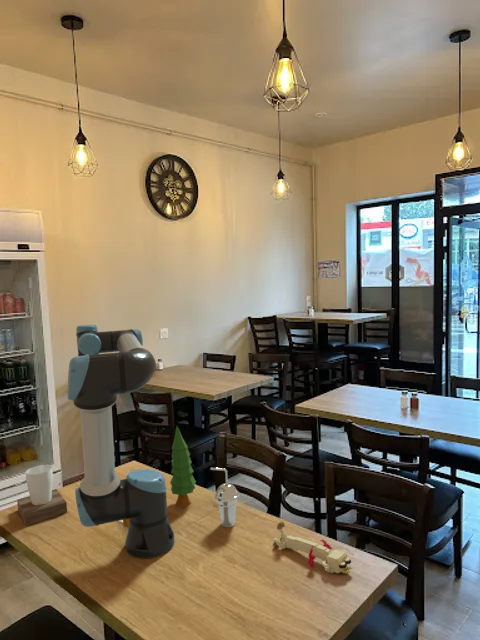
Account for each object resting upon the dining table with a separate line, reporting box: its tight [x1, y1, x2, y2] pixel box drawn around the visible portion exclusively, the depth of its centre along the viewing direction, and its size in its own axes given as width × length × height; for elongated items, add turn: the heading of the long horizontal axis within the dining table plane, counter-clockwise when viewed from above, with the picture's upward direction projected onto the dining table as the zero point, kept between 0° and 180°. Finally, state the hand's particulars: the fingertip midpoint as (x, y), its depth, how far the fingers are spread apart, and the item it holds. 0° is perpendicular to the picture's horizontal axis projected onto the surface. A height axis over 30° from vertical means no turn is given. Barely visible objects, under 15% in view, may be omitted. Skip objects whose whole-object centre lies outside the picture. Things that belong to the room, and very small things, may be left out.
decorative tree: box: [170, 425, 197, 508], centre depth 175 cm, size 10×9×30 cm
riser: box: [16, 488, 68, 526], centre depth 174 cm, size 14×14×4 cm
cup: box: [25, 464, 54, 505], centre depth 173 cm, size 9×9×12 cm
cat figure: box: [272, 520, 353, 575], centre depth 138 cm, size 10×9×25 cm
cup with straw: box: [209, 467, 241, 528], centre depth 159 cm, size 8×9×20 cm
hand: (93, 422), depth 178 cm, fingers open, 13 cm apart
